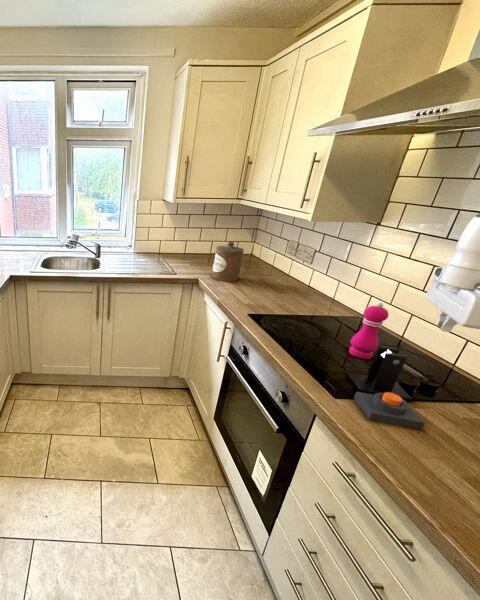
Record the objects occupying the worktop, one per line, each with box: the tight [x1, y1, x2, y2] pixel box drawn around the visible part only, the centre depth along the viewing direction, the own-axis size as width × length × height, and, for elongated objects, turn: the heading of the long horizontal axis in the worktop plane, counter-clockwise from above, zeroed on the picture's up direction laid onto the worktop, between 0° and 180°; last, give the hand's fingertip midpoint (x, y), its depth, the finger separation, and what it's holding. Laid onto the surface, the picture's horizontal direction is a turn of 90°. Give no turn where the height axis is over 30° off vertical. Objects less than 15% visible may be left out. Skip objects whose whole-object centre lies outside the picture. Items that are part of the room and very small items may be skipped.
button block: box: [353, 391, 426, 430], centre depth 84 cm, size 11×9×4 cm
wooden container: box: [211, 241, 244, 282], centre depth 187 cm, size 15×15×22 cm
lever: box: [381, 349, 430, 385], centre depth 90 cm, size 12×5×2 cm
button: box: [382, 392, 402, 406], centre depth 83 cm, size 4×4×2 cm
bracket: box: [346, 345, 413, 403], centre depth 92 cm, size 12×9×13 cm
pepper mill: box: [348, 301, 389, 360], centre depth 108 cm, size 7×7×20 cm
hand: (442, 329), depth 81 cm, fingers closed
